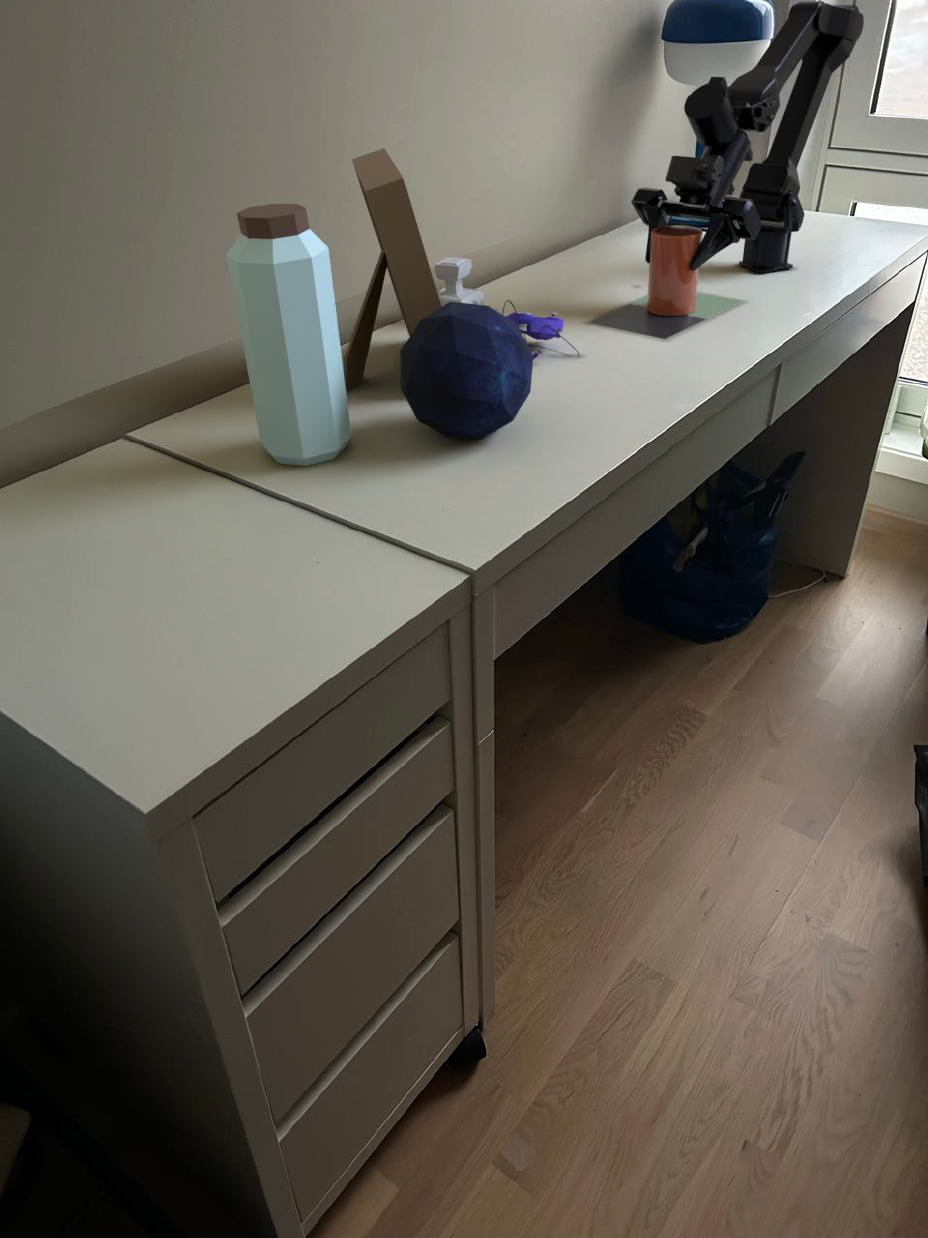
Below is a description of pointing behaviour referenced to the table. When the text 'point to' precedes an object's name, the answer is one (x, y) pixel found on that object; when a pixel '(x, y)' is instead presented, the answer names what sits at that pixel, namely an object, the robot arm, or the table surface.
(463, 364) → the decorative orb
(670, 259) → the tumbler
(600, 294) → the table surface
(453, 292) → the stamp
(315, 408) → the water bottle
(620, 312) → the desk mat
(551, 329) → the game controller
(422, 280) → the photo frame
